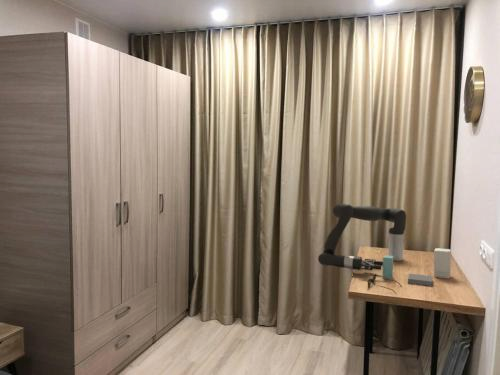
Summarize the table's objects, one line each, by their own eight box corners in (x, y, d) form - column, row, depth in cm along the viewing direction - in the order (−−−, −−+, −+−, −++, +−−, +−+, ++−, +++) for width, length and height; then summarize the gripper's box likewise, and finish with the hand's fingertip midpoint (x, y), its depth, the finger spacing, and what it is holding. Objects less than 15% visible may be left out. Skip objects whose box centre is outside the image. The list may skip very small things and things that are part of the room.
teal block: (383, 275, 232) (384, 255, 231) (392, 276, 230) (393, 256, 229) (382, 278, 228) (383, 257, 226) (391, 279, 226) (392, 258, 224)
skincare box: (450, 276, 231) (451, 249, 229) (449, 279, 225) (450, 251, 224) (434, 273, 235) (435, 247, 234) (433, 277, 229) (434, 250, 228)
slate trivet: (408, 277, 228) (409, 273, 228) (432, 280, 223) (432, 276, 223) (407, 283, 219) (408, 278, 219) (432, 286, 214) (432, 281, 214)
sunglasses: (375, 282, 222) (375, 273, 222) (402, 289, 214) (404, 280, 214) (366, 289, 211) (367, 280, 210) (395, 297, 202) (397, 288, 202)
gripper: (350, 259, 229) (380, 262, 223) (355, 253, 242) (383, 256, 236) (350, 272, 230) (380, 275, 223) (355, 265, 243) (383, 268, 236)
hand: (382, 265), depth 230 cm, fingers open, 8 cm apart
